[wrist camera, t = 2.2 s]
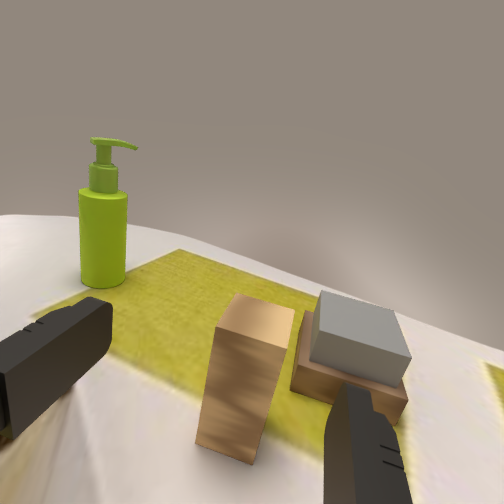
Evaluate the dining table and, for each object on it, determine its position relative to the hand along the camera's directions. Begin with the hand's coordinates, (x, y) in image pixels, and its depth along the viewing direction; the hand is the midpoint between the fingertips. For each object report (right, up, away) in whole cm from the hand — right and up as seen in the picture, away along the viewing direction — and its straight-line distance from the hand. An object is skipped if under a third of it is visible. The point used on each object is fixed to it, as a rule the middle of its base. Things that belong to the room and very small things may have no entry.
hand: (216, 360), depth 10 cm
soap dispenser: (-21, -1, +35) cm, 41 cm away
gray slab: (+13, -8, +25) cm, 29 cm away
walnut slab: (+12, -11, +27) cm, 31 cm away
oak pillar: (-1, -12, +17) cm, 21 cm away
